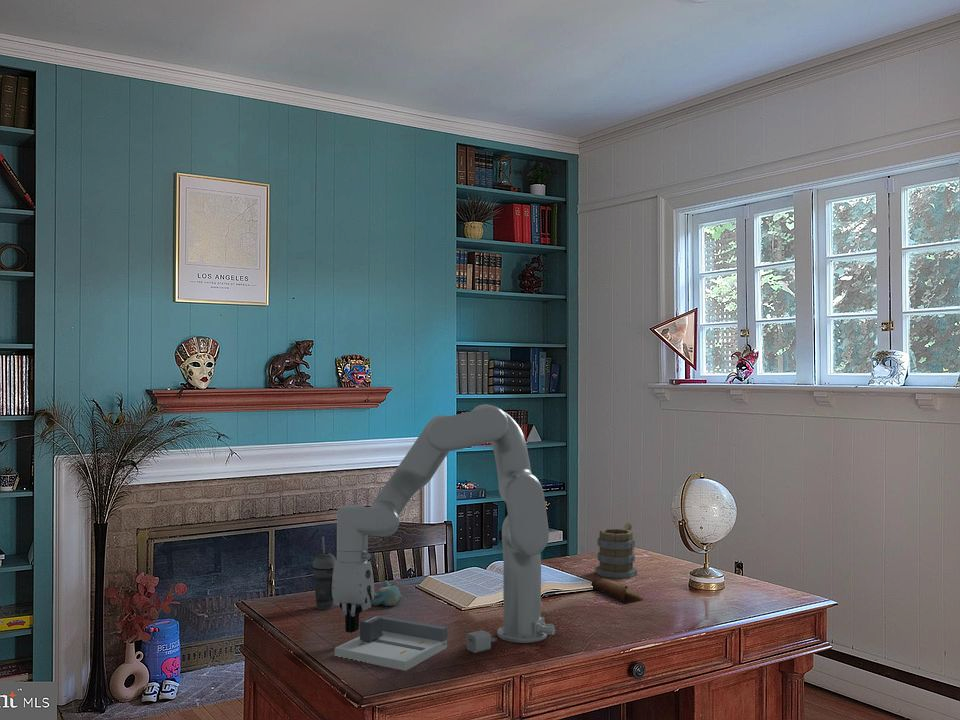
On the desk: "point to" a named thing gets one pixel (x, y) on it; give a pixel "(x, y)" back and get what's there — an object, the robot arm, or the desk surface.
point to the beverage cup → (323, 579)
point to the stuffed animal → (387, 595)
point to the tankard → (616, 553)
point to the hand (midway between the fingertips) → (352, 630)
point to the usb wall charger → (479, 641)
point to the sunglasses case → (616, 590)
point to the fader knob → (371, 628)
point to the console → (397, 644)
